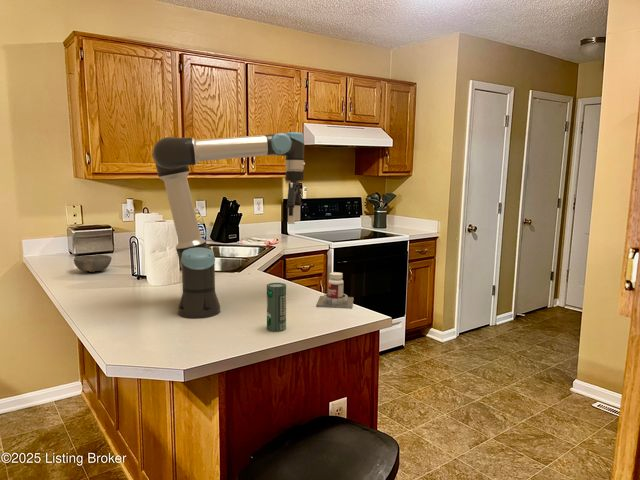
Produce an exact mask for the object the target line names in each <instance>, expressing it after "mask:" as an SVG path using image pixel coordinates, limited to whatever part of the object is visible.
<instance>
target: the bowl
mask: <svg viewBox="0 0 640 480" xmlns="http://www.w3.org/2000/svg"><path fill="white" fill-rule="evenodd" d="M73 262H74V263H73V264H74V265H75V267H76V268H77V269H79V270H80V271H82V272H87V271H89V272H88V273H96V272H95V271H100V272H102V271H101V270H103V271H104V269H105V270H106V269H108V268H109V266H110V264H111V262H112V256H111V255H107V254H96V255H77V256H74V258H73Z"/></svg>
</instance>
